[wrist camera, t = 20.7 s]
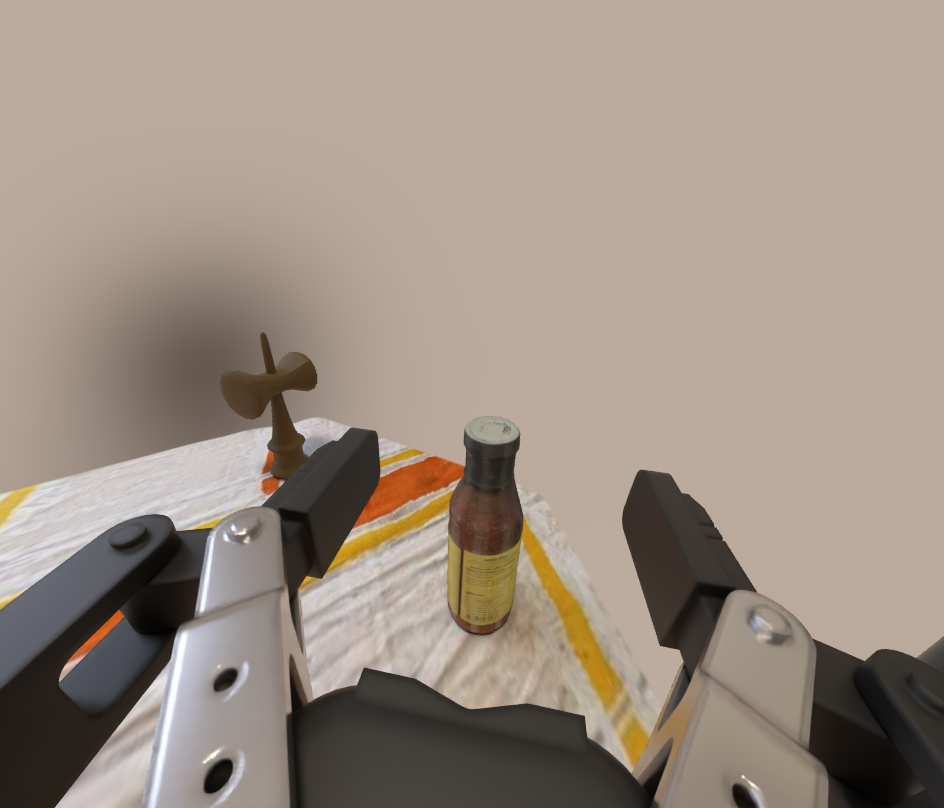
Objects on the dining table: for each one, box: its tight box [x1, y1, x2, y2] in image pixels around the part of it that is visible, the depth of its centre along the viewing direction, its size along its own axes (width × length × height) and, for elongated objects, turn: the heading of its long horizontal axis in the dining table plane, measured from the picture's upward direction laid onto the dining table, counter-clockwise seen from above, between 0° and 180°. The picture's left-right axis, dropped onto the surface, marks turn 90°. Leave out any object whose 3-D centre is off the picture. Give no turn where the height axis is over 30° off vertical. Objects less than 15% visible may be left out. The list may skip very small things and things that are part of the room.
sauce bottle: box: [448, 416, 523, 634], centre depth 28 cm, size 7×6×20 cm
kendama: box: [220, 332, 317, 478], centre depth 44 cm, size 6×10×20 cm, turn 158°
